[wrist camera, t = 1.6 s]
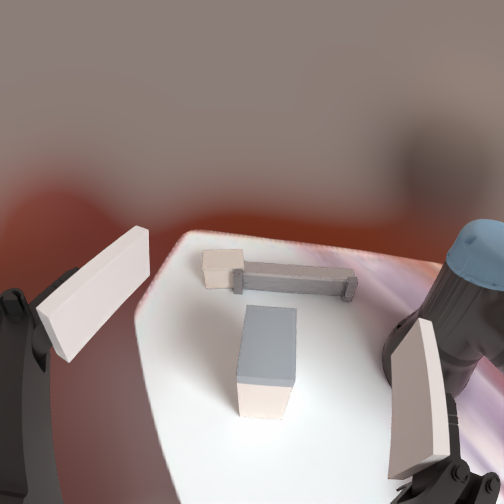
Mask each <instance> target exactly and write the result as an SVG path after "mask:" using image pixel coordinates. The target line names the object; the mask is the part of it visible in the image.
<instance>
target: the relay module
mask: <svg viewBox="0 0 504 504" xmlns="http://www.w3.org/2000/svg"><path fill="white" fill-rule="evenodd" d="M295 373H296V309H294V308H279V307H266V306H254V305H247V307H246V314H245V321H244V327H243V334H242V341H241V347H240V354H239V361H238V367H237V374H236V379H237V391H238V403H239V414H240V417H248V418H260V419H273V420H282V417H283V414H284V412H285V409H286V406H287V403H288V400H289V397H290V394H291V391H292V388H293V385H294V382H295Z"/></svg>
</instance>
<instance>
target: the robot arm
mask: <svg viewBox="0 0 504 504" xmlns="http://www.w3.org/2000/svg"><path fill="white" fill-rule="evenodd" d="M148 232H149V230H148V229H145V228H142V227H139V226H135V227H133V228H132V229H131V230H129V231H128V232H127V233H125V234H124V235H123V236H121V237H120V238H119V239H117V240H116V241H115V242H114V243H112V244H111V245H110V246H108V247H107V248H106V249H105V250H103V251H102V252H101V253H100V254H98V255H97V256H96V257H94V258H93V259H92V260H91V261H89V262H88V263H87V264H86V265H85V266H83V267H82V268H81V269H79V268H77V267H76V268H73V269H71V270H69V271H67V272H65V273H64V274H63V275H62V276H60V277H59V278H58V280H56V281H55V282H53V283H52V285H50V286H49V287H47V288H46V289H45V290H44V291H43V292H42V293H41V294H39V295H38V296H37V297H36V298H35V299H34V300H33V301H32V302H30V304H27V301H26V298H25V296H24V294H23V292H22V291H21V290H20V289H18V288H12V289H8V290H6V291H4V292H3V293H2V294H1V295H0V504H64V503H63V499H62V495H61V490H60V485H59V481H58V474H57V468H56V462H55V455H54V447H53V438H52V428H51V411H50V351H49V349H50V348H51V347H52V346H53V347H54V349H55V351H56V353H57V354H58V355H59V356H60V357H62V358H63V359H64V360H66V361H67V362H68V363H70V361H71V360H72V359H73V358H74V357H75V356H76V355H77V353H78V352H79V351H80V350H81V349H82V347H83V346H84V345H85V344H86V343H87V342H88V341H89V340H90V339H91V337H92V336H93V335H94V334H95V333H96V332H97V331H98V330H99V329H100V327H101V326H102V325H103V324H104V323H105V322H106V321H107V320H108V319H109V317H110V316H111V315H112V314H113V313H114V312H115V311H116V310H117V309H118V308H119V306H121V305H122V303H123V302H124V301H125V300H126V299H127V298H128V297H129V296H130V295H131V294H132V293H133V292H134V291H135V290H136V289H137V288H138V287H139V286H140V285H141V284H142V282H143V281H144V280H145V279H146V278H147V277H148V276H149V275H150V268H149V267H150V266H149V233H148ZM483 356H485V357H486V358H487V359H488V360H489V361H491V362H492V363H493V364H494V365H495V367H497V368H498V369H499V370H500V371H501V372H502V373H503V375H504V223H503V222H499V221H496V220H489V219H478V220H474V221H471V222H470V223H468V224H466V225H465V226H464V227H463V229H462V230H461V231H460V233H459V235H458V237H457V239H456V241H455V243H454V245H453V246H452V247H451V249H450V250H449V251H448V253H447V257H446V261H445V262H444V264H443V266H442V268H441V270H440V272H439V274H438V276H437V278H436V280H435V282H434V284H433V286H432V288H431V289H430V291H429V293H428V295H427V297H426V298H425V300H424V302H423V304H422V305H421V307H420V308H419V309H417V310H416V311H415V312H413V313H412V314H411V315H409V316H408V317H407V318H406V319H404V320H403V321H401V322H400V323H399V324H398V325H397V326H396V327H395V328H394V329H393V331H392V332H391V334H390V336H389V337H388V339H387V341H386V343H385V345H384V348H383V355H382V362H383V368H384V372H385V375H386V377H387V379H388V381H389V383H390V385H391V386H392V427H391V446H390V460H389V471H388V479H398V480H404V479H406V478H408V477H410V476H412V475H413V479H412V482H410V483H408V484H405V485H403V486H401V487H399V488H398V489H396V490H397V491H400V490H402V489H403V490H402V491H401V492H400V494H399V495H398V496H397V497H396V498H395V499H394V500H393V501H392V502H391V503H390V504H496V501H497V498H498V495H499V491H500V479H499V476H498V475H497V474H496V473H494V472H490V473H487V474H485V475H483V476H479V475H477V474H474V473H472V472H470V469H469V466H468V464H467V463H466V462H465V461H464V460H462V459H461V456H460V441H459V428H458V426H457V424H458V418H457V417H456V416H457V410H456V403H455V401H454V398H455V397H456V396H458V395H459V394H460V393H461V392H462V391H463V389H464V388H465V387H466V385H467V383H468V381H469V379H470V376H471V375H472V373H473V371H474V369H475V367H476V365H477V363H478V361H479V360H480V359H481V358H482V357H483Z"/></svg>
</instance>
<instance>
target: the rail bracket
mask: <svg viewBox="0 0 504 504" xmlns="http://www.w3.org/2000/svg"><path fill="white" fill-rule="evenodd" d="M357 284H358V280H357V277H355V274H354V269H341V268H326V267H312V266H298V265H284V264H270V263H257V262H244V270H243V269H234V270H233V290H234V294H243V289H250V290H262V291H275V292H289V293H304V294H320V295H338V296H342V299H343V301H349V302H351V300H352V298H353V295H354V292H355V289H356V287H357Z"/></svg>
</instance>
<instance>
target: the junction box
mask: <svg viewBox="0 0 504 504" xmlns="http://www.w3.org/2000/svg"><path fill="white" fill-rule="evenodd" d="M234 269H243V270H244V260H243V249H229V250H203V261H202V272H204V277H205V284H206V289H213V288H233V270H234Z"/></svg>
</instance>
